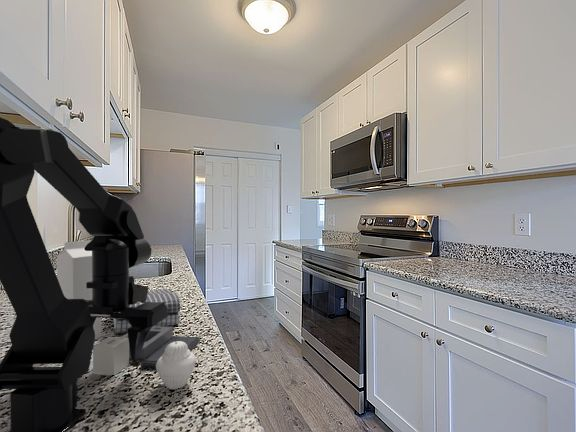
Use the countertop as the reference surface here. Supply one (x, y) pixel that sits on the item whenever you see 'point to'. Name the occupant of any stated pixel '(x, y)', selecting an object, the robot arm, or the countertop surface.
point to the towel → (155, 296)
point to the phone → (154, 357)
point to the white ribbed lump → (176, 365)
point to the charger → (110, 356)
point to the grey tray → (153, 340)
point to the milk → (76, 274)
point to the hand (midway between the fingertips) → (111, 360)
